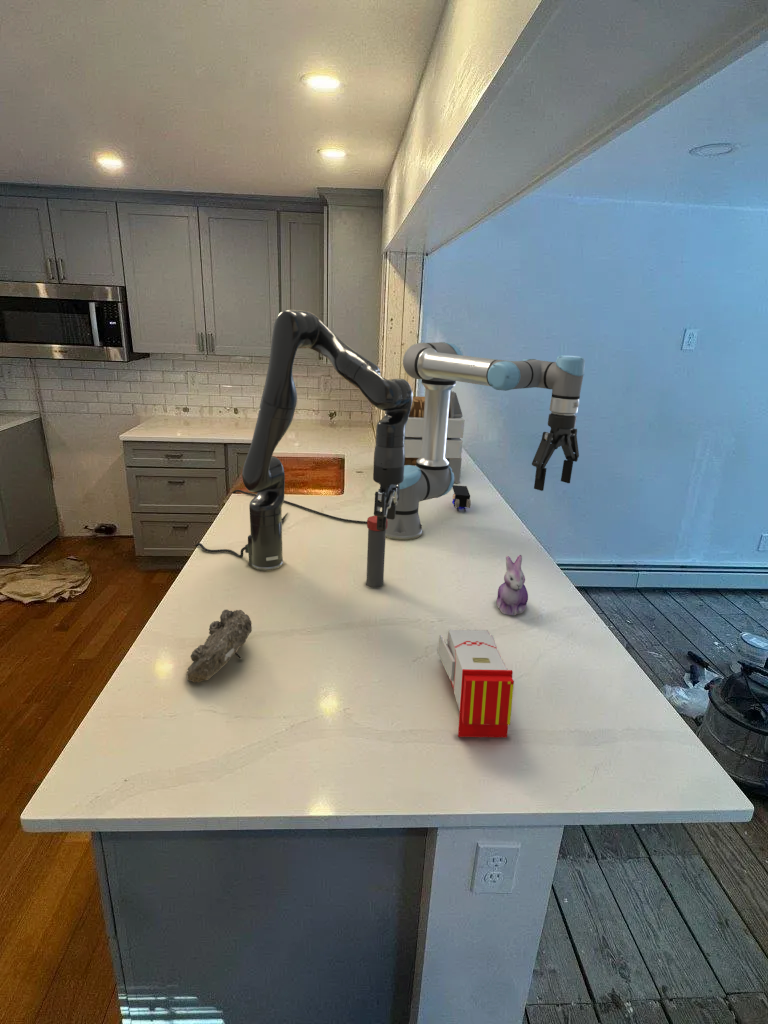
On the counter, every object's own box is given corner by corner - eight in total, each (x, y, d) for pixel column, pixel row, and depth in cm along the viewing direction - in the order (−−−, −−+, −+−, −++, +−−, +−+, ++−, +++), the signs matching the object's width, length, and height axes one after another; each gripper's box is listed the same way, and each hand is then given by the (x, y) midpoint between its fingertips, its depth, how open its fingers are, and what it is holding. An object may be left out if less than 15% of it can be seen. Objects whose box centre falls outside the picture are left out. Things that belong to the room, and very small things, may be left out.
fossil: (206, 612, 136) (251, 583, 131) (234, 639, 138) (279, 612, 133) (166, 676, 116) (217, 644, 111) (199, 706, 119) (250, 677, 114)
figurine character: (470, 516, 223) (465, 500, 237) (473, 499, 220) (467, 484, 233) (453, 516, 223) (449, 500, 236) (455, 498, 220) (451, 483, 233)
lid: (388, 531, 155) (388, 522, 154) (367, 531, 154) (368, 522, 153) (386, 523, 160) (386, 515, 159) (366, 523, 159) (366, 515, 158)
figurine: (510, 620, 147) (517, 567, 142) (486, 602, 155) (492, 552, 150) (538, 612, 151) (545, 561, 146) (513, 595, 159) (519, 546, 154)
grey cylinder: (384, 588, 161) (387, 523, 154) (367, 588, 160) (369, 523, 154) (382, 580, 165) (385, 517, 159) (365, 580, 165) (367, 517, 158)
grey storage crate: (382, 463, 289) (386, 382, 275) (445, 464, 293) (451, 384, 279) (390, 482, 257) (394, 392, 243) (460, 483, 261) (468, 394, 247)
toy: (488, 613, 130) (523, 677, 101) (484, 667, 133) (517, 744, 104) (435, 612, 130) (455, 676, 101) (432, 666, 133) (451, 743, 103)
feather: (294, 507, 225) (297, 503, 224) (277, 531, 198) (280, 526, 197) (290, 504, 224) (293, 500, 224) (273, 528, 198) (276, 524, 197)
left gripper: (382, 454, 146) (380, 513, 151) (365, 467, 133) (363, 531, 139) (411, 457, 144) (407, 517, 149) (396, 471, 131) (392, 536, 137)
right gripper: (548, 419, 148) (537, 496, 155) (598, 411, 163) (586, 482, 171) (525, 414, 153) (515, 489, 160) (575, 407, 169) (564, 476, 176)
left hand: (386, 524), depth 144 cm, fingers open, 8 cm apart
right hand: (552, 485), depth 166 cm, fingers open, 13 cm apart
